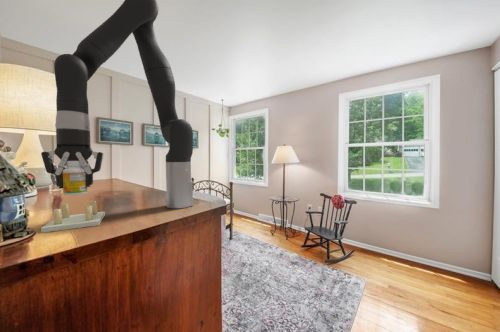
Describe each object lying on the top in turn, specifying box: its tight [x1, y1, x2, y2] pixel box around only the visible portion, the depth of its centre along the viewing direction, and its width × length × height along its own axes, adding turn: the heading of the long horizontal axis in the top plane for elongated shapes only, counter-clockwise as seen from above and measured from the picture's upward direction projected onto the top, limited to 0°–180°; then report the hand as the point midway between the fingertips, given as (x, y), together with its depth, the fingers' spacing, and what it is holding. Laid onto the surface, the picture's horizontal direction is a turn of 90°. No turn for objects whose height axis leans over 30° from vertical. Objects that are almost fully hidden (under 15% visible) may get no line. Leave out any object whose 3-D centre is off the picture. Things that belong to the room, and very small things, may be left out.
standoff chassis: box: [40, 200, 106, 233], centre depth 61 cm, size 12×12×5 cm
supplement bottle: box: [62, 161, 88, 196], centre depth 61 cm, size 5×5×10 cm
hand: (75, 187), depth 61 cm, fingers closed on supplement bottle, 5 cm apart
